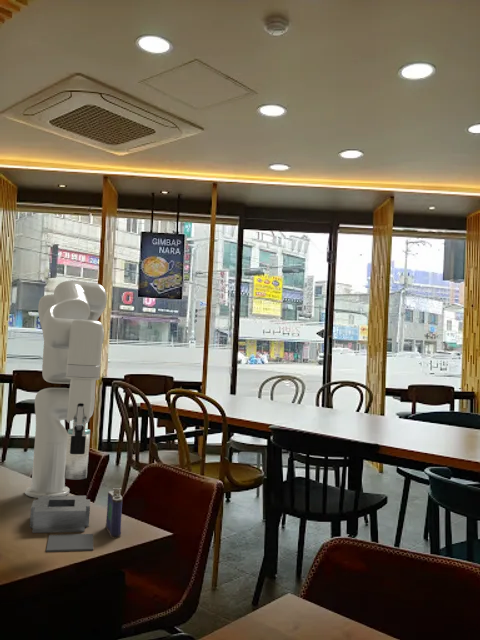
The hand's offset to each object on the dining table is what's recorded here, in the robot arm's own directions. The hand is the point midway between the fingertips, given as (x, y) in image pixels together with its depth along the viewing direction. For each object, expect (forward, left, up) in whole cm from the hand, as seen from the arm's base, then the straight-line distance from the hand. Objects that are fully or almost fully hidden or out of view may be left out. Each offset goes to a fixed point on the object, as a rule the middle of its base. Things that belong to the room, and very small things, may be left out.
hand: (77, 450), depth 129 cm
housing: (-15, -3, -21) cm, 26 cm away
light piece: (0, 0, -6) cm, 6 cm away
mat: (0, 0, -21) cm, 21 cm away
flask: (-7, +10, -21) cm, 25 cm away
